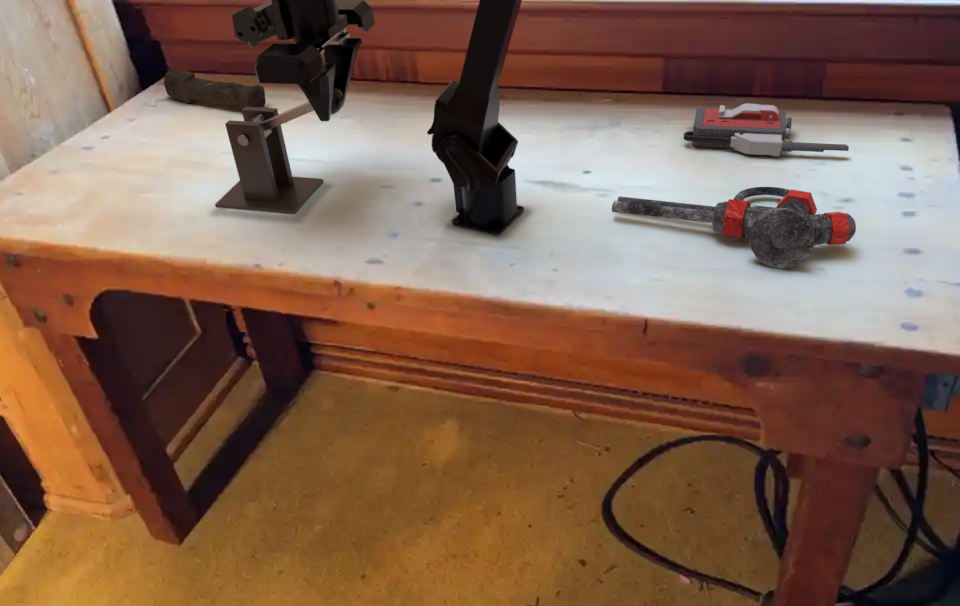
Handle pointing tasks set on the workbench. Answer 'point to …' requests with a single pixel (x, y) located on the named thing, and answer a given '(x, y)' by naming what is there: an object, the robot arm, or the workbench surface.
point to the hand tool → (212, 91)
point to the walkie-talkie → (749, 131)
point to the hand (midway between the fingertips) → (332, 113)
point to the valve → (759, 222)
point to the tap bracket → (264, 169)
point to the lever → (297, 112)
